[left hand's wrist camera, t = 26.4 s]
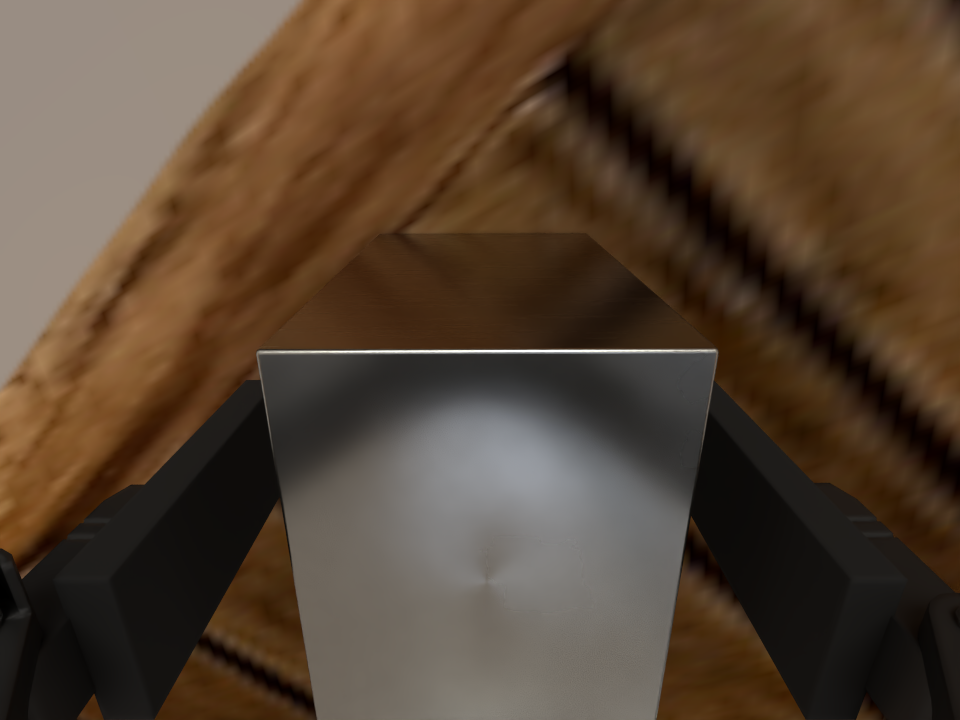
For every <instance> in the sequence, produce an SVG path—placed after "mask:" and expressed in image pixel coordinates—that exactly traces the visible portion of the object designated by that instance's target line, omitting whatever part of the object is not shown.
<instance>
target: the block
mask: <svg viewBox="0 0 960 720" xmlns="http://www.w3.org/2000/svg"><path fill="white" fill-rule="evenodd" d="M256 355H257V361H258V367H259V373H260V379H261V385H262V391H263V397H264V403H265V409H266V415H267V421H268V427H269V433H270V439H271V445H272V451H273V457H274V463H275V469H276V475H277V481H278V487H279V493H280V499H281V505H282V512H283V518H284V524H285V530H286V536H287V542H288V548H289V554H290V560H291V566H292V572H293V578H294V584H295V590H296V596H297V602H298V608H299V614H300V620H301V626H302V632H303V638H304V644H305V650H306V656H307V662H308V668H309V674H310V680H311V686H312V692H313V698H314V704H315V710H316V716H317V720H656V718H657V712H658V706H659V700H660V695H661V689H662V683H663V677H664V671H665V665H666V659H667V653H668V647H669V642H670V636H671V630H672V624H673V618H674V612H675V606H676V600H677V594H678V588H679V583H680V577H681V571H682V565H683V559H684V553H685V547H686V541H687V535H688V530H689V524H690V518H691V512H692V506H693V500H694V494H695V488H696V482H697V477H698V471H699V465H700V459H701V453H702V447H703V441H704V435H705V429H706V423H707V418H708V412H709V406H710V400H711V394H712V388H713V382H714V376H715V370H716V365H717V359H718V348H716V347H715V346H714V345H713V344H712V343H711V342H710V341H709V340H707V339H706V338H705V337H704V336H703V335H702V334H701V333H699V332H698V331H697V330H696V329H695V328H694V327H693V326H691V325H690V324H689V323H688V322H687V321H686V320H685V319H683V318H682V317H681V316H680V315H679V314H678V313H677V312H675V311H674V310H673V309H672V308H671V307H670V306H669V305H667V304H666V303H665V302H664V301H663V300H662V299H661V298H660V297H658V296H657V295H656V294H655V293H654V292H653V291H652V290H650V289H649V288H648V287H647V286H646V285H645V284H644V283H642V282H641V281H640V280H639V279H638V278H637V277H636V276H634V275H633V274H632V273H631V272H630V271H629V270H628V269H626V268H625V267H624V266H623V265H622V264H621V263H620V262H618V261H617V260H616V259H615V258H614V257H613V256H612V255H611V254H609V253H608V252H607V251H606V250H605V249H604V248H603V247H601V246H600V245H599V244H598V243H597V242H596V241H595V240H593V239H592V238H591V237H590V236H589V235H588V234H586V233H562V234H380V235H378V236H377V237H376V238H375V239H374V240H373V241H372V242H371V243H370V244H369V245H368V246H367V247H366V248H364V249H363V250H362V251H361V252H360V253H359V254H358V255H357V256H356V257H355V258H354V259H353V260H352V261H351V262H350V263H349V264H348V265H347V266H345V267H344V268H343V269H342V270H341V271H340V272H339V273H338V274H337V275H336V276H335V277H334V278H333V279H332V280H331V281H330V282H329V283H327V284H326V285H325V286H324V287H323V288H322V289H321V290H320V291H319V292H318V293H317V294H316V295H315V296H314V297H313V298H312V299H311V300H310V301H308V302H307V303H306V304H305V305H304V306H303V307H302V308H301V309H300V310H299V311H298V312H297V313H296V314H295V315H294V316H293V317H292V318H290V319H289V320H288V321H287V322H286V323H285V324H284V325H283V326H282V327H281V328H280V329H279V330H278V331H277V332H276V333H275V334H274V335H273V336H271V337H270V338H269V339H268V340H267V341H266V342H265V343H264V344H263V345H262V346H261V347H260V348H259V349H258V350H257V352H256Z"/></svg>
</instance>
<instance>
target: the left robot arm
mask: <svg viewBox="0 0 960 720" xmlns="http://www.w3.org/2000/svg"><path fill="white" fill-rule="evenodd" d="M279 497H280V493H279V487H278V481H277V475H276V469H275V463H274V457H273V451H272V445H271V439H270V433H269V427H268V421H267V415H266V409H265V403H264V397H263V391H262V385H261V380H246V381H245V382H244V383H243V384H242V385H241V386H240V387H239V388H238V389H237V390H236V391H235V392H234V393H233V394H232V395H231V397H230V398H229V399H228V400H227V401H226V402H225V403H224V404H223V405H222V406H221V407H220V408H219V409H218V410H217V411H216V412H215V413H214V414H213V415H212V416H211V417H210V418H209V419H208V420H207V421H206V422H205V423H204V424H203V425H202V426H201V427H200V428H199V429H198V430H197V431H196V432H195V433H194V435H193V436H192V437H191V438H190V439H189V440H188V441H187V442H186V443H185V444H184V445H183V446H182V447H181V448H180V449H179V450H178V451H177V452H176V453H175V454H174V455H173V456H172V457H171V458H170V459H169V460H168V461H167V462H166V463H165V464H164V465H163V466H162V467H161V468H160V469H159V470H158V471H157V473H156V474H155V475H154V476H153V477H152V478H151V479H150V480H149V481H148V482H147V483H146V484H145V485H130V486H128V487H126V488H125V489H123V490H121V491H120V492H118V493H116V494H115V495H113V496H111V497H109V498H108V499H106V500H104V501H103V502H102V503H101V504H100V505H99V506H98V507H97V508H96V509H95V510H94V511H93V512H92V513H91V514H90V515H89V516H87V517H86V518H85V519H84V523H80V524H79V525H78V526H77V527H76V528H75V529H74V530H73V531H72V532H71V533H70V534H69V535H68V538H67V540H62V541H61V542H60V543H59V544H58V545H57V546H56V547H55V548H54V549H53V550H52V551H51V552H50V553H49V554H48V555H47V556H46V557H45V558H44V559H43V560H42V561H41V562H40V563H38V564H37V565H36V566H35V567H34V568H33V569H32V570H31V571H30V572H29V573H28V574H27V575H26V576H25V577H24V578H23V579H21V577H20V574H19V572H18V569H17V567H16V564H15V561H14V559H13V556H12V554H10V553H8V552H7V551H5V550H3V549H0V720H77V717H78V715H79V714H80V713H81V711H82V710H83V708H84V707H85V705H86V704H87V703H88V701H89V700H90V698H91V697H92V695H93V694H95V696H96V699H97V702H98V705H99V707H100V710H101V713H102V715H103V718H104V720H154V719H155V717H156V715H157V714H158V712H159V710H160V708H161V706H162V705H163V703H164V701H165V699H166V698H167V696H168V694H169V692H170V690H171V689H172V687H173V685H174V683H175V682H176V680H177V678H178V676H179V674H180V673H181V671H182V669H183V667H184V666H185V664H186V662H187V660H188V658H189V657H190V655H191V653H192V651H193V650H194V648H195V646H196V644H197V642H198V641H199V639H200V637H201V635H202V634H203V632H204V630H205V628H206V626H207V625H208V623H209V621H210V619H211V618H212V616H213V614H214V612H215V610H216V609H217V607H218V605H219V603H220V602H221V600H222V598H223V596H224V594H225V593H226V591H227V589H228V587H229V586H230V584H231V582H232V580H233V578H234V577H235V575H236V573H237V571H238V570H239V568H240V566H241V564H242V562H243V561H244V559H245V557H246V555H247V554H248V552H249V550H250V548H251V546H252V545H253V543H254V541H255V539H256V538H257V536H258V534H259V532H260V530H261V529H262V527H263V525H264V523H265V522H266V520H267V518H268V516H269V514H270V513H271V511H272V509H273V507H274V506H275V504H276V502H277V500H278V498H279ZM691 516H692V518H693V520H694V522H695V523H696V525H697V527H698V529H699V530H700V532H701V534H702V536H703V538H704V539H705V541H706V543H707V545H708V546H709V548H710V550H711V552H712V554H713V555H714V557H715V559H716V561H717V562H718V564H719V566H720V568H721V570H722V571H723V573H724V575H725V577H726V578H727V580H728V582H729V584H730V586H731V587H732V589H733V591H734V593H735V594H736V596H737V598H738V600H739V602H740V603H741V605H742V607H743V609H744V610H745V612H746V614H747V616H748V618H749V619H750V621H751V623H752V625H753V626H754V628H755V630H756V632H757V634H758V635H759V637H760V639H761V641H762V642H763V644H764V646H765V648H766V650H767V651H768V653H769V655H770V657H771V658H772V660H773V662H774V664H775V666H776V667H777V669H778V671H779V673H780V674H781V676H782V678H783V680H784V682H785V683H786V685H787V687H788V689H789V690H790V692H791V694H792V696H793V698H794V699H795V701H796V703H797V705H798V706H799V708H800V710H801V712H802V714H803V715H804V717H805V719H806V720H856V718H857V715H858V713H859V710H860V707H861V705H862V702H863V699H864V696H865V694H866V691H867V692H868V694H869V695H870V697H871V698H872V700H873V701H874V702H875V704H876V705H877V707H878V708H879V710H880V711H881V712H882V714H883V715H884V718H883V720H960V593H955V592H954V591H953V590H952V589H951V588H950V587H949V586H948V585H946V584H945V583H944V582H943V581H942V580H941V579H940V578H939V577H938V576H937V575H936V574H935V573H934V572H933V571H932V570H931V569H930V568H929V567H928V566H927V565H926V564H924V563H923V562H922V561H921V560H920V559H919V558H918V557H917V556H916V555H915V554H914V553H913V552H912V551H911V550H910V549H909V548H908V547H907V546H906V545H905V544H903V543H902V542H901V541H900V540H899V539H898V538H894V537H893V533H892V532H891V531H890V530H889V529H888V528H887V527H886V526H885V525H884V524H882V523H881V522H877V520H876V517H875V516H874V515H873V514H872V513H871V512H870V511H869V510H868V509H867V508H866V507H865V506H864V505H863V504H861V503H860V502H859V501H858V500H857V499H856V498H854V497H852V496H851V495H849V494H847V493H846V492H844V491H842V490H841V489H839V488H837V487H835V486H834V485H832V484H830V483H813V482H812V481H811V480H810V479H809V478H808V477H807V476H806V475H805V474H804V473H803V472H802V470H801V469H800V468H799V467H798V466H797V465H796V464H795V463H794V462H793V461H792V460H791V459H790V458H789V457H788V456H787V455H786V454H785V453H784V452H783V451H782V450H781V449H780V448H779V447H778V446H777V445H776V444H775V443H774V442H773V441H772V440H771V439H770V438H769V437H768V436H767V435H766V433H765V432H764V431H763V430H762V429H761V428H760V427H759V426H758V425H757V424H756V423H755V422H754V421H753V420H752V419H751V418H750V417H749V416H748V415H747V414H746V413H745V412H744V411H743V410H742V409H741V408H740V407H739V406H738V405H737V404H736V403H735V402H734V401H733V400H732V399H731V398H730V397H729V395H728V394H727V393H726V392H725V391H724V390H723V389H722V388H721V387H720V386H719V385H718V384H717V383H716V382H715V381H714V382H713V388H712V394H711V400H710V406H709V412H708V418H707V423H706V429H705V435H704V441H703V447H702V453H701V459H700V465H699V471H698V477H697V482H696V488H695V494H694V500H693V506H692V512H691Z"/></svg>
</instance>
